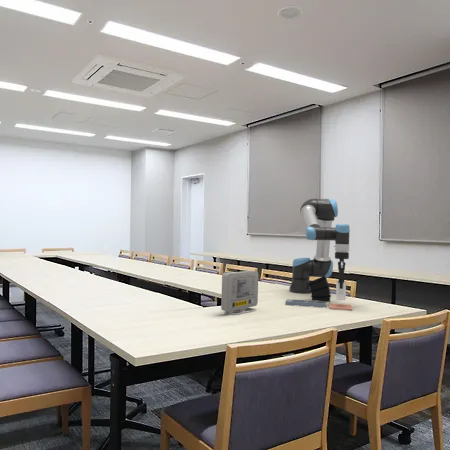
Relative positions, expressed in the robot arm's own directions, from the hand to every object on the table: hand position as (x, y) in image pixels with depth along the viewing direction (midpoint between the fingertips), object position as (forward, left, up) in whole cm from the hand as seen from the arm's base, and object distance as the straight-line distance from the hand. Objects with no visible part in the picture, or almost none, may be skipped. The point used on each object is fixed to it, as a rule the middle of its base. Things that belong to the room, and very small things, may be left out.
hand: (340, 293), depth 238 cm
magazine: (-20, -12, -8) cm, 25 cm away
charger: (0, 0, -3) cm, 3 cm away
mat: (0, 0, -8) cm, 8 cm away
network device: (+33, -50, -8) cm, 60 cm away
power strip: (0, -19, -8) cm, 20 cm away
